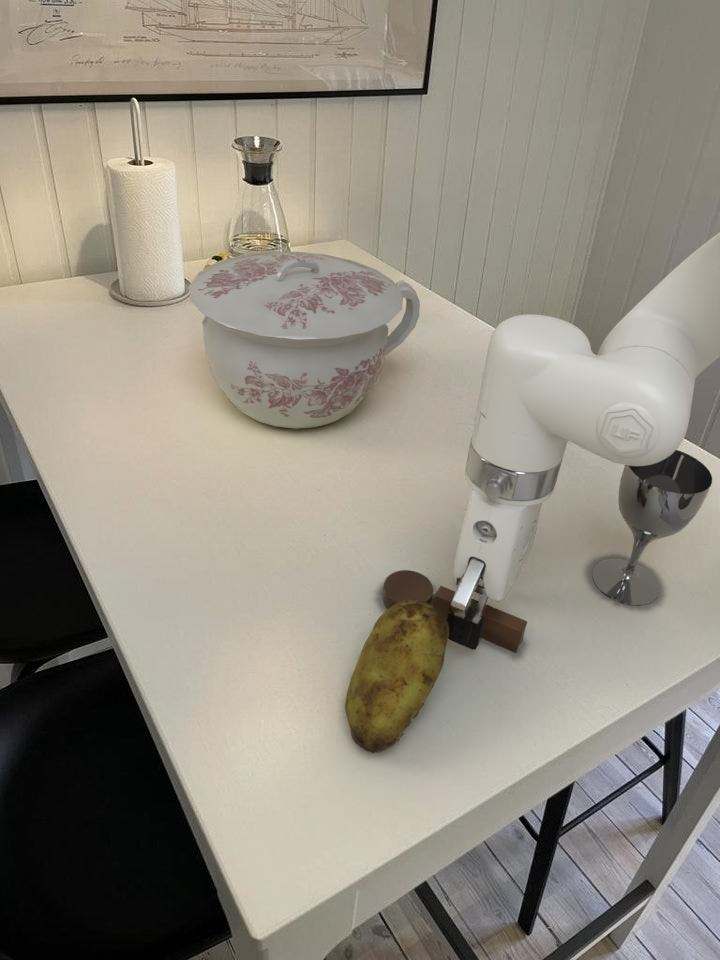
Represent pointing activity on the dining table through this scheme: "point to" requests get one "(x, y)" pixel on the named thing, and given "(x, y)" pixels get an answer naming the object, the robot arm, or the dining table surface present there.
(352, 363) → the chamber pot
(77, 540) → the dining table surface
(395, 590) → the wooden spoon
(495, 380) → the robot arm
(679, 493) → the wine glass
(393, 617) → the potato
